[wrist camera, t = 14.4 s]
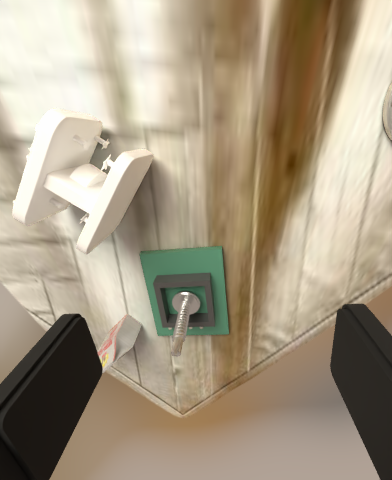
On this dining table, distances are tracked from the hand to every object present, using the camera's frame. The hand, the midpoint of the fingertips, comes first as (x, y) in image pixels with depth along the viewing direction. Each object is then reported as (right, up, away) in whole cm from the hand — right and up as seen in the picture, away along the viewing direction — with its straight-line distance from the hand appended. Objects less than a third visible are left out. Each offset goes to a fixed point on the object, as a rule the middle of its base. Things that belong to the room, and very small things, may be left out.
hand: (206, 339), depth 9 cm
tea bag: (-15, -14, +41) cm, 46 cm away
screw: (-2, -6, +35) cm, 35 cm away
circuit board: (-2, -6, +36) cm, 36 cm away
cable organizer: (-14, +14, +29) cm, 35 cm away
